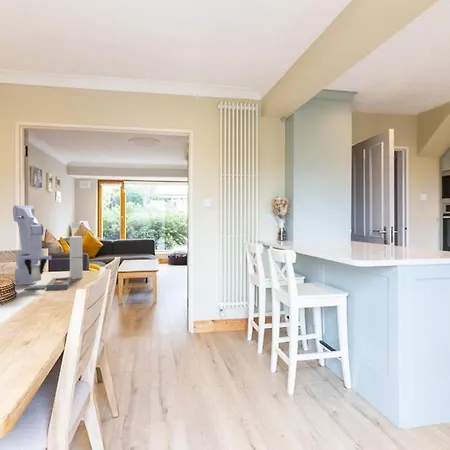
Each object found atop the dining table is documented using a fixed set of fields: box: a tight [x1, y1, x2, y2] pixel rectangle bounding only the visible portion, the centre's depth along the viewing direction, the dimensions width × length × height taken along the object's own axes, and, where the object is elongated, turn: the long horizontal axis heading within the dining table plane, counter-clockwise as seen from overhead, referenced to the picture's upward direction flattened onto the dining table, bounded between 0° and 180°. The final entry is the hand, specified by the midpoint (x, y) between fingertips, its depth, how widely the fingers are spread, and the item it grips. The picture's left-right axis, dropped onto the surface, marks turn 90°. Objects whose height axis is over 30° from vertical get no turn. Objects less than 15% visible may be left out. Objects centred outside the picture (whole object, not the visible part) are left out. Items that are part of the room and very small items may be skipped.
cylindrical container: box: [69, 235, 84, 280], centre depth 218 cm, size 7×7×25 cm
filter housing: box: [45, 276, 73, 291], centre depth 195 cm, size 10×22×2 cm, turn 17°
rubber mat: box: [24, 284, 47, 291], centre depth 188 cm, size 9×9×1 cm
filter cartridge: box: [31, 263, 42, 282], centre depth 188 cm, size 5×5×8 cm
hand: (35, 274), depth 187 cm, fingers closed on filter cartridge, 5 cm apart
